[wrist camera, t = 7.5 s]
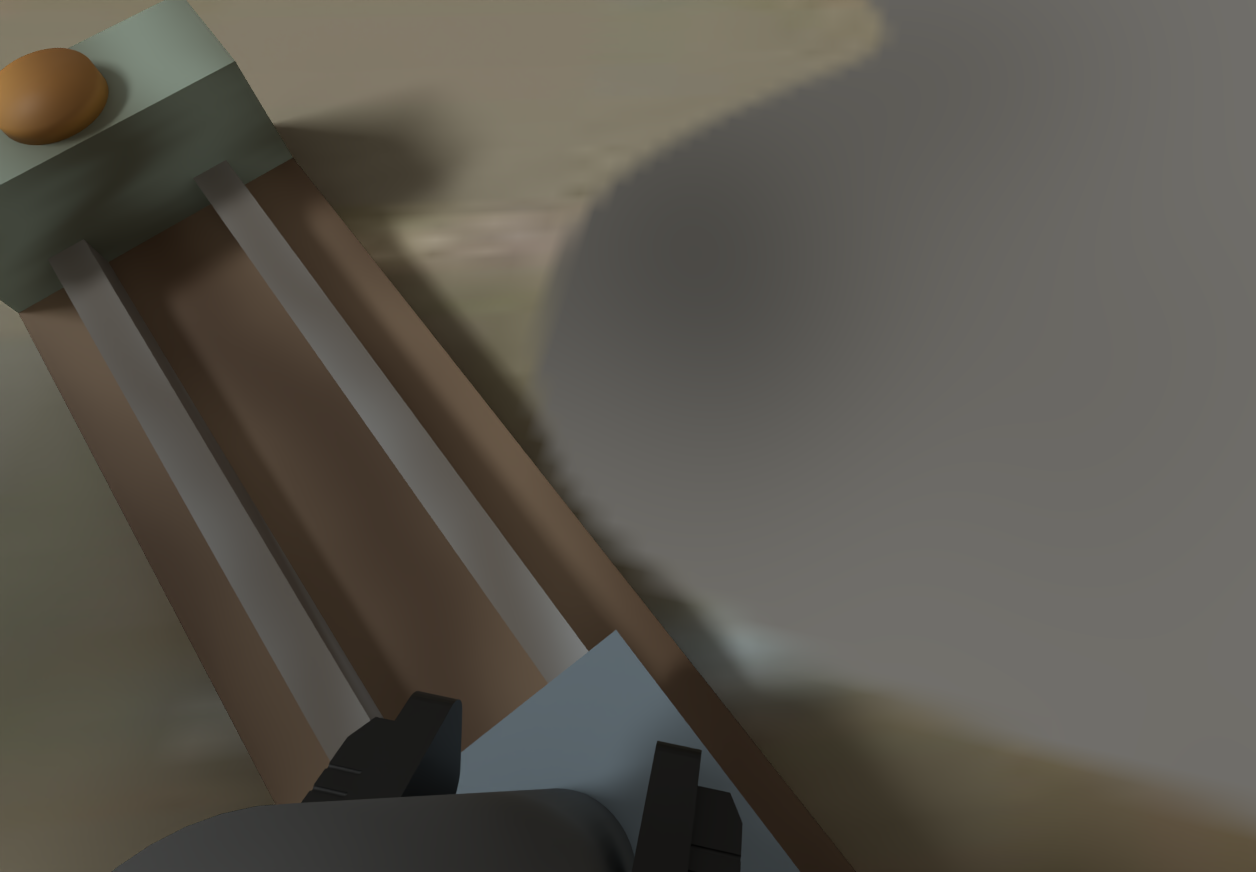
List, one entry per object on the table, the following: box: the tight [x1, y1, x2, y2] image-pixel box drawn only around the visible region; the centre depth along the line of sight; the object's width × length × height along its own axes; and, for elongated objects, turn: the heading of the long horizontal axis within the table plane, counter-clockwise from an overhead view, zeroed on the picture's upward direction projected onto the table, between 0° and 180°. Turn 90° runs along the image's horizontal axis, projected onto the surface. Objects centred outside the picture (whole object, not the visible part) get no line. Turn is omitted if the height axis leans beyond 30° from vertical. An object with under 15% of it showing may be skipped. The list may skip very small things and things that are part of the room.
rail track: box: [0, 0, 856, 872], centre depth 20 cm, size 10×36×6 cm, turn 38°
